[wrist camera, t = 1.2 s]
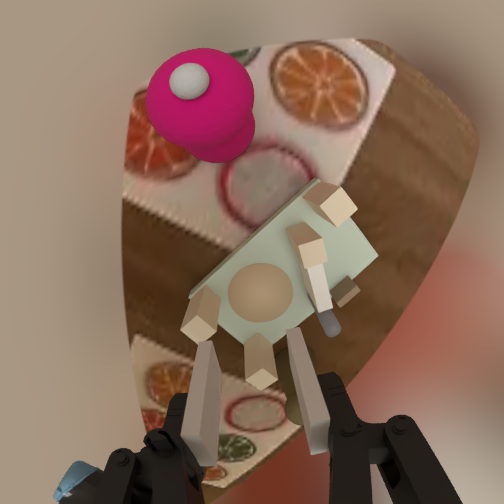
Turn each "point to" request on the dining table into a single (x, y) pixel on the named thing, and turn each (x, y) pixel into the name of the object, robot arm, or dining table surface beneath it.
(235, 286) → the stand
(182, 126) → the pepper mill
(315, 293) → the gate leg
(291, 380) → the pepper shaker
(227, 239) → the dining table surface
